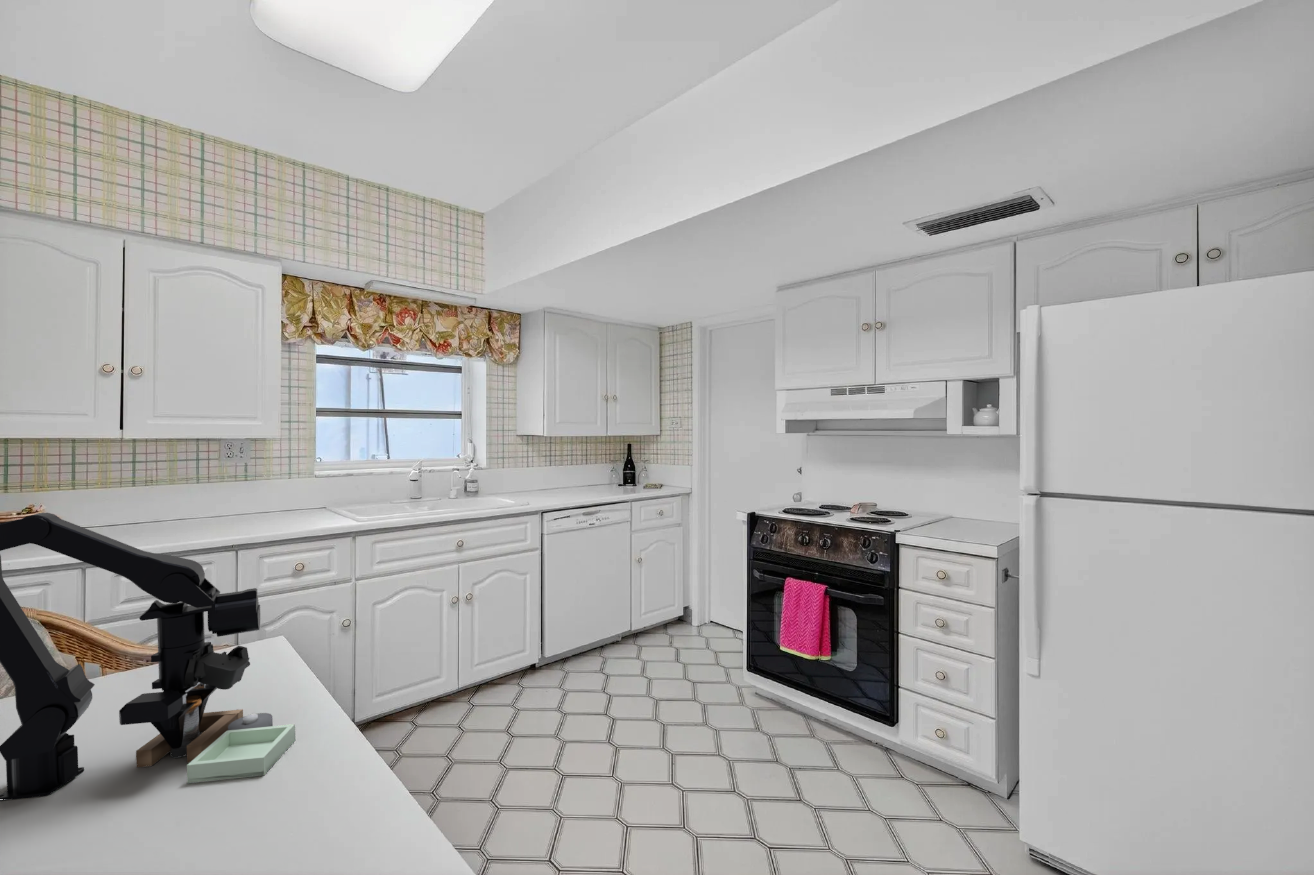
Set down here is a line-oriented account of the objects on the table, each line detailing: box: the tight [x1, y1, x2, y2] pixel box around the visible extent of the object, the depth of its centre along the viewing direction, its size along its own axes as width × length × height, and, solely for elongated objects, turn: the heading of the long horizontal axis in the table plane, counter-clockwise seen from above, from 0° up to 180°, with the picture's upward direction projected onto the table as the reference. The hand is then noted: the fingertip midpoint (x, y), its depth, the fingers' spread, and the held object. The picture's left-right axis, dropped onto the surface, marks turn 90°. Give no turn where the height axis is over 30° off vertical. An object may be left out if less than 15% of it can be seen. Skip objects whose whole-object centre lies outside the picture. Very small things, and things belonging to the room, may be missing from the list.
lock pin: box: [169, 695, 202, 758], centre depth 93 cm, size 4×4×8 cm
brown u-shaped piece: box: [135, 708, 244, 768], centre depth 95 cm, size 9×12×2 cm
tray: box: [186, 723, 297, 784], centre depth 89 cm, size 10×10×3 cm
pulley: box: [228, 712, 274, 730], centre depth 97 cm, size 6×6×3 cm
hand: (184, 741), depth 93 cm, fingers closed on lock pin, 4 cm apart
